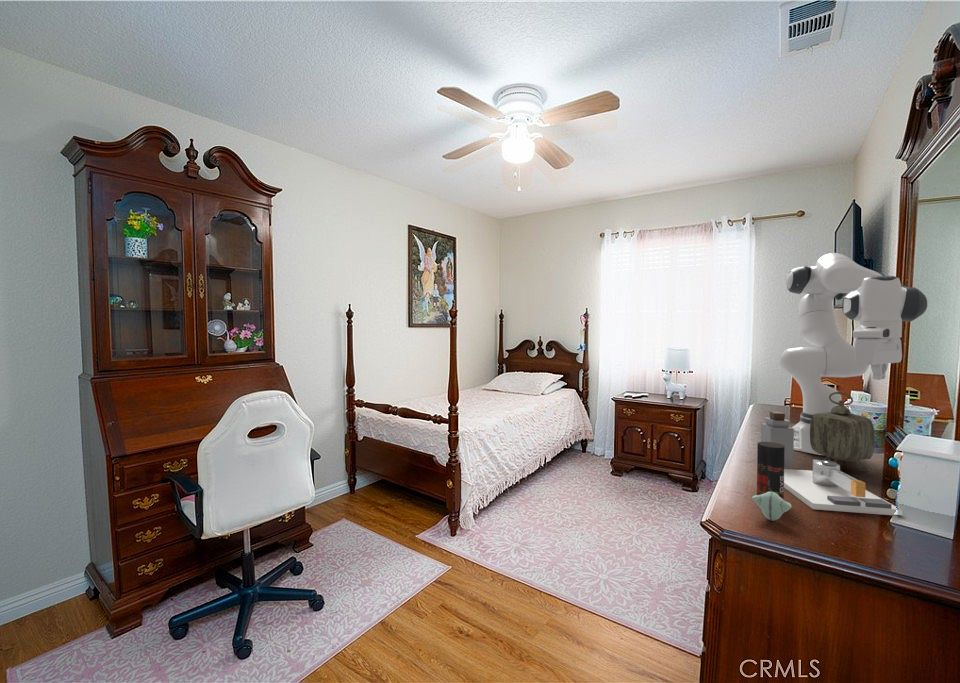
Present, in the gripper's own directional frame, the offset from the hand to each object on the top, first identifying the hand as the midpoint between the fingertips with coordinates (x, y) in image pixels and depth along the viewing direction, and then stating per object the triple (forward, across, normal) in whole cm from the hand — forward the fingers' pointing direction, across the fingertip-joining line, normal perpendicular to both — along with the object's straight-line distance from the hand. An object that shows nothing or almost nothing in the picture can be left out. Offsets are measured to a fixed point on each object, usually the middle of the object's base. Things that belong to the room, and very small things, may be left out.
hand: (879, 379), depth 121 cm
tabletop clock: (+31, -10, -13) cm, 35 cm away
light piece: (+29, +19, -2) cm, 35 cm away
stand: (+31, +18, -5) cm, 37 cm away
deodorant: (+31, +38, -9) cm, 50 cm away
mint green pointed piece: (+31, +50, -2) cm, 59 cm away
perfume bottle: (+31, +6, -24) cm, 40 cm away
